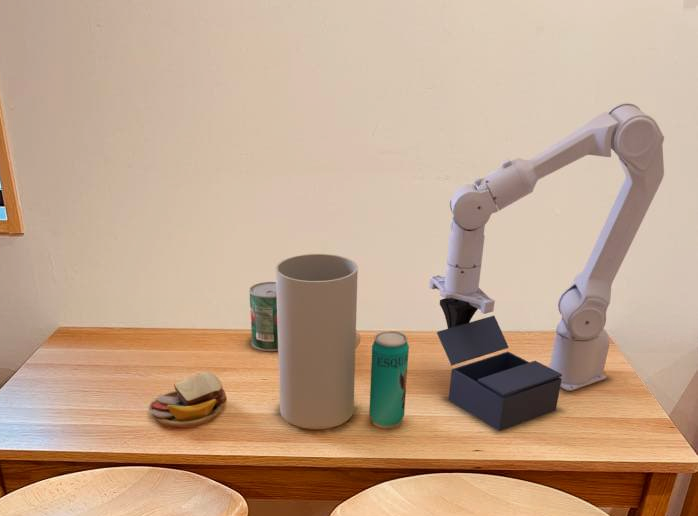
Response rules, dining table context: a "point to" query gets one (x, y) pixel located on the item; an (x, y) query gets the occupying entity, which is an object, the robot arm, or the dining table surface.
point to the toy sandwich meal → (189, 401)
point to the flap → (472, 340)
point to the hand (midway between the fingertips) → (456, 339)
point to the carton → (505, 389)
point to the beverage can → (388, 379)
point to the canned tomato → (264, 316)
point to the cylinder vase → (316, 339)
